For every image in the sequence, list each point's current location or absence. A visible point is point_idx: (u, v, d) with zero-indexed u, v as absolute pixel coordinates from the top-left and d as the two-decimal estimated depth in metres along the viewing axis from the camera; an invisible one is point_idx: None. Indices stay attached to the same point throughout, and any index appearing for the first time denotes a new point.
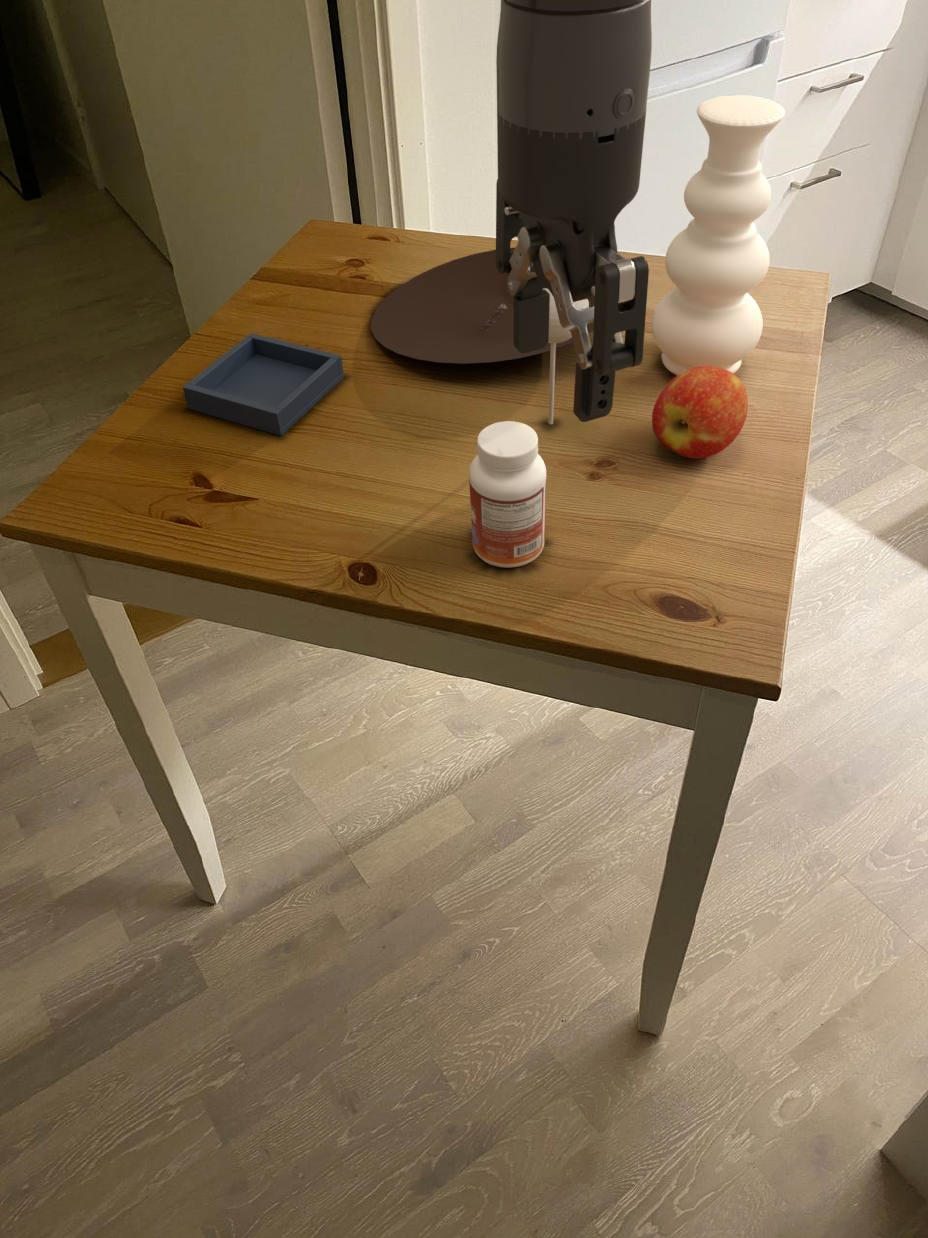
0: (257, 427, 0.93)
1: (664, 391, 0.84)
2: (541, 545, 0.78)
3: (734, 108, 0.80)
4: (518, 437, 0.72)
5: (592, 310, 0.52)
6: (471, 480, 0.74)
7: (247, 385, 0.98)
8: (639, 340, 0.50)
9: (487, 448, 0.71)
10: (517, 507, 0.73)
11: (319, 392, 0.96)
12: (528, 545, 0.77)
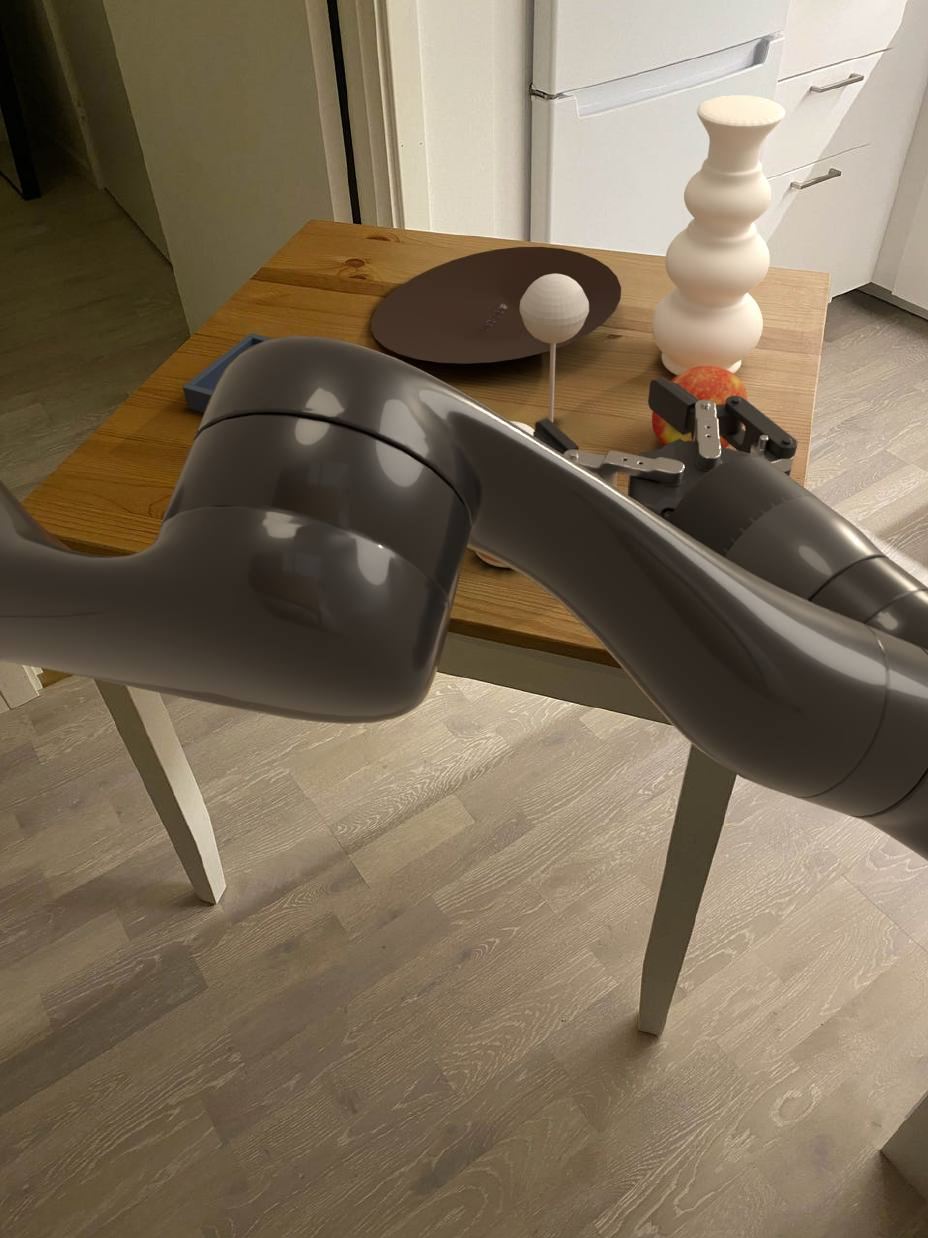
0: None
1: None
2: None
3: (734, 108, 0.80)
4: None
5: None
6: None
7: None
8: None
9: None
10: None
11: None
12: None
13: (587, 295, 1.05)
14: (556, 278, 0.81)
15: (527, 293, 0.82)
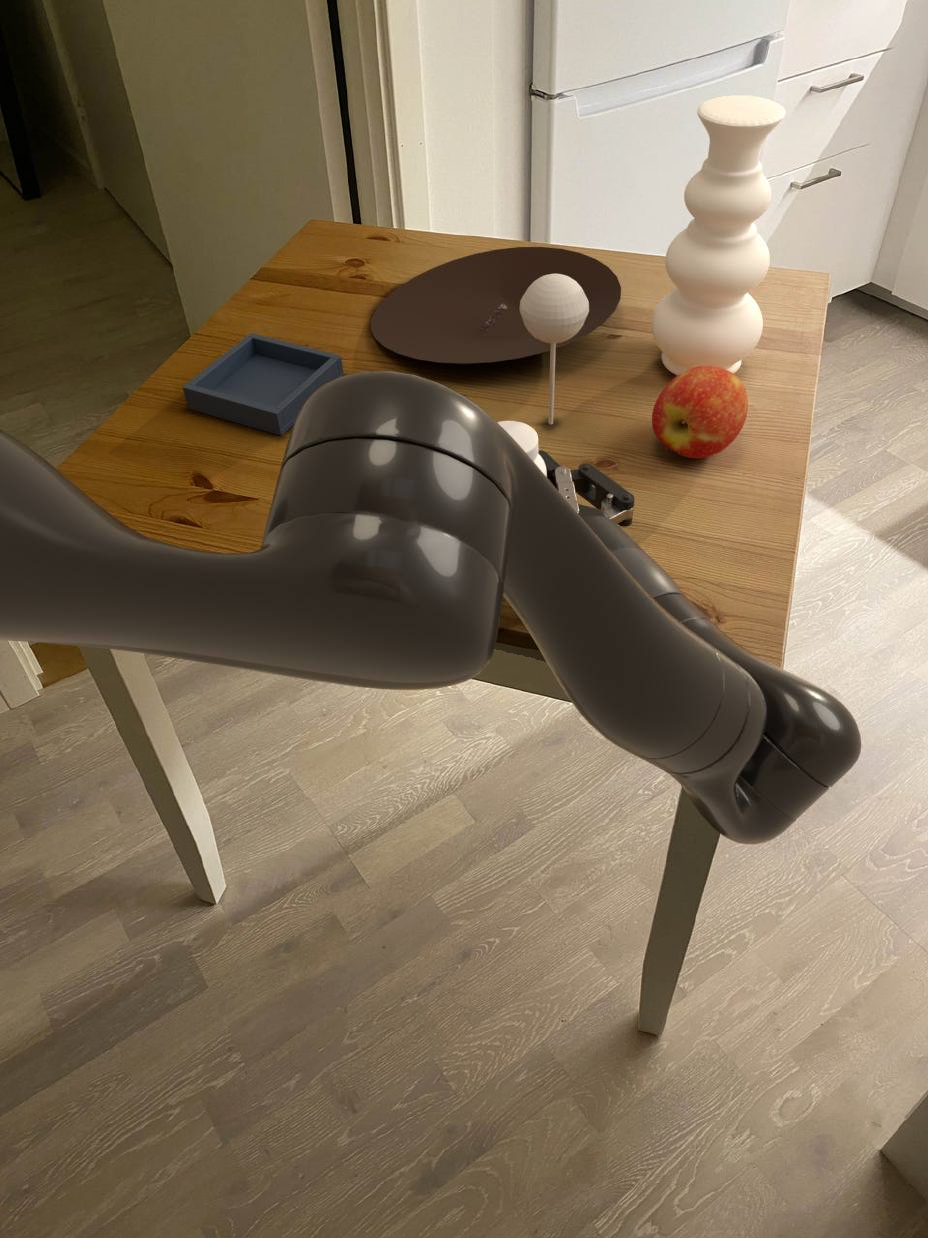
0: (257, 427, 0.93)
1: (664, 391, 0.84)
2: None
3: (734, 108, 0.80)
4: (519, 437, 0.72)
5: None
6: None
7: (247, 385, 0.98)
8: None
9: None
10: None
11: None
12: None
13: (587, 295, 1.05)
14: (556, 278, 0.81)
15: (527, 293, 0.82)
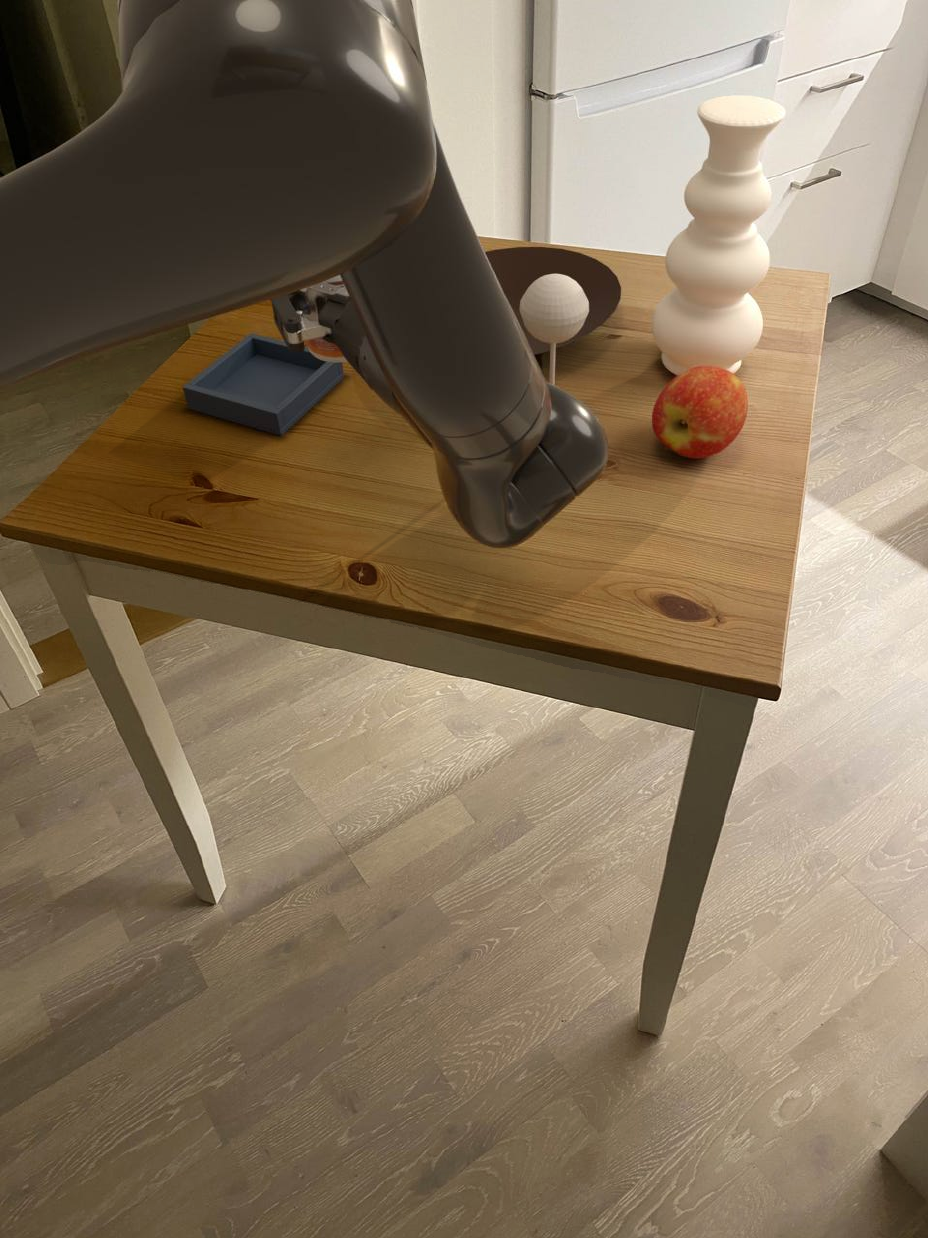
0: (257, 427, 0.93)
1: (664, 391, 0.84)
2: None
3: (734, 108, 0.80)
4: None
5: (313, 305, 0.74)
6: None
7: (247, 385, 0.98)
8: (277, 325, 0.74)
9: None
10: None
11: (319, 392, 0.96)
12: None
13: (587, 295, 1.05)
14: (556, 278, 0.81)
15: (527, 293, 0.82)
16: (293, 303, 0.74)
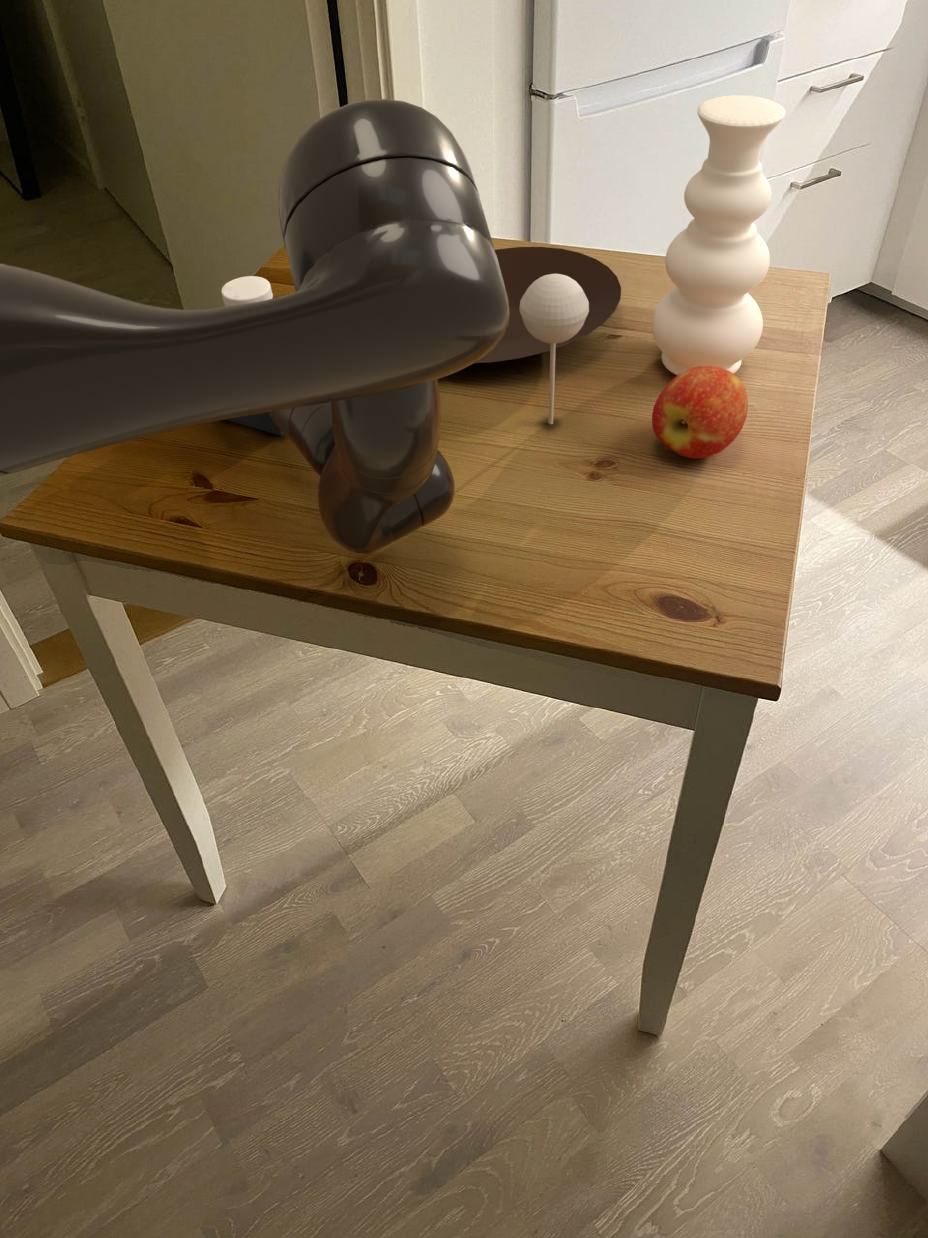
0: (257, 427, 0.93)
1: (664, 391, 0.84)
2: None
3: (734, 108, 0.80)
4: (254, 286, 0.90)
5: None
6: None
7: None
8: None
9: (227, 294, 0.89)
10: None
11: None
12: None
13: (587, 295, 1.05)
14: (555, 278, 0.81)
15: (527, 293, 0.82)
16: None
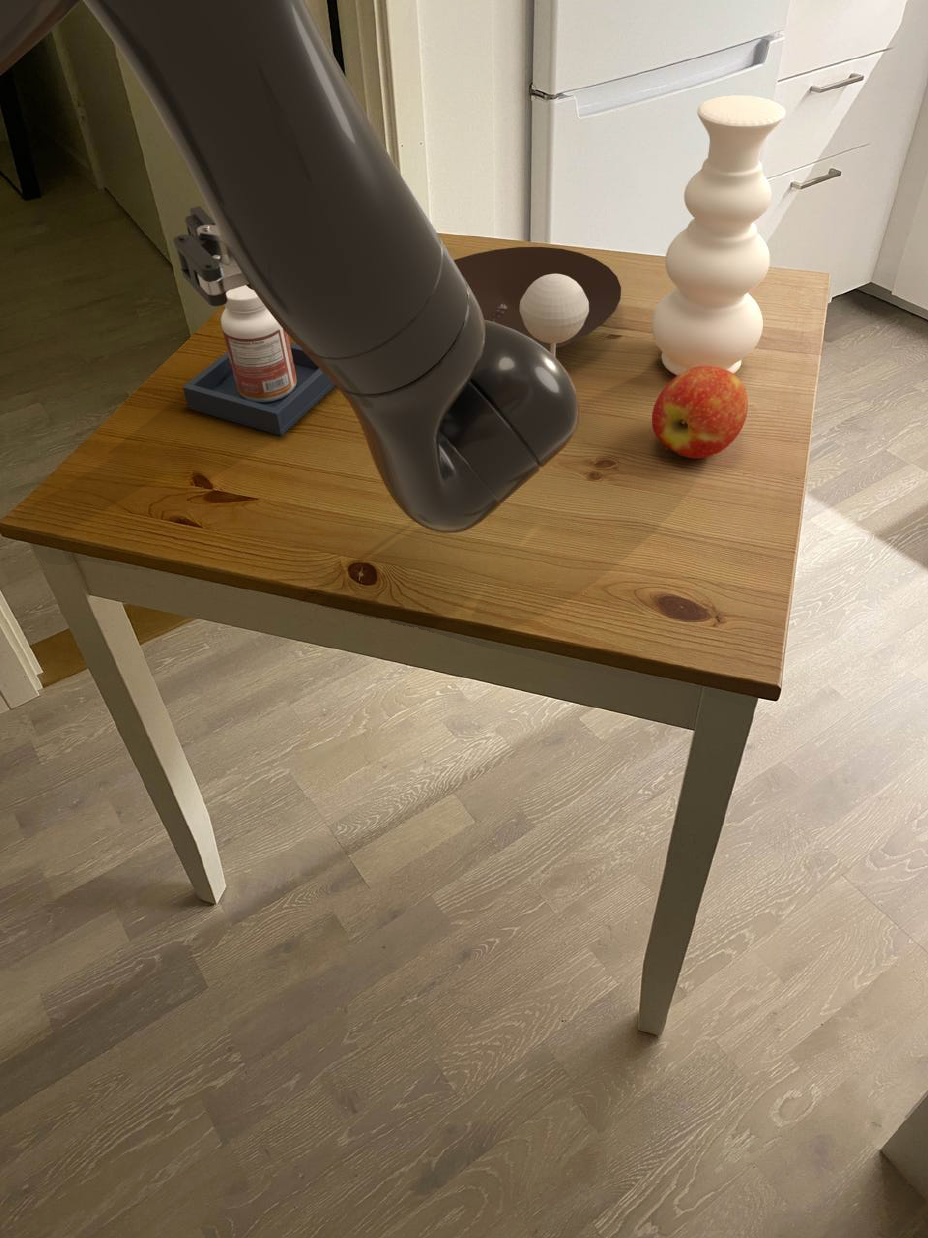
0: (257, 427, 0.93)
1: (664, 391, 0.84)
2: (290, 384, 0.96)
3: (734, 108, 0.80)
4: None
5: None
6: (221, 324, 0.91)
7: None
8: (188, 278, 0.62)
9: (226, 294, 0.89)
10: (256, 345, 0.91)
11: (319, 392, 0.96)
12: (275, 381, 0.94)
13: (587, 295, 1.05)
14: (555, 278, 0.81)
15: (527, 293, 0.82)
16: None
